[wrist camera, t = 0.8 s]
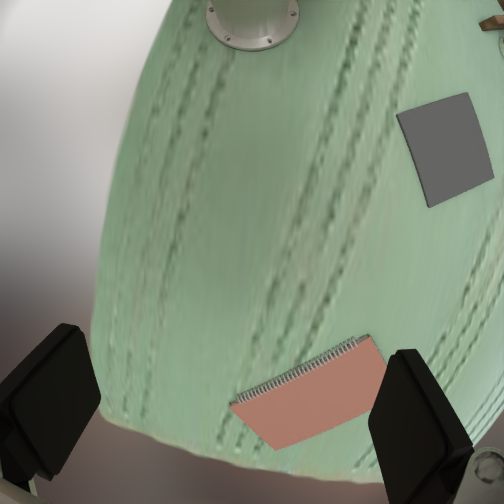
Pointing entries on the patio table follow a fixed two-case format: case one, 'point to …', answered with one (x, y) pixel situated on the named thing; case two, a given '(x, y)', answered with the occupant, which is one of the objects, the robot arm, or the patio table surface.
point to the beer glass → (501, 45)
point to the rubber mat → (446, 147)
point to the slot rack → (494, 21)
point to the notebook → (315, 395)
